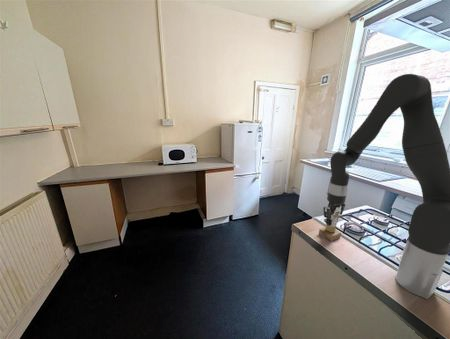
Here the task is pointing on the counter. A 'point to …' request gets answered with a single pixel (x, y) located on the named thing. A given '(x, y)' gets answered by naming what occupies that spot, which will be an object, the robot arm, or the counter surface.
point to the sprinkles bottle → (333, 222)
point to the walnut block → (329, 234)
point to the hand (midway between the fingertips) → (331, 223)
